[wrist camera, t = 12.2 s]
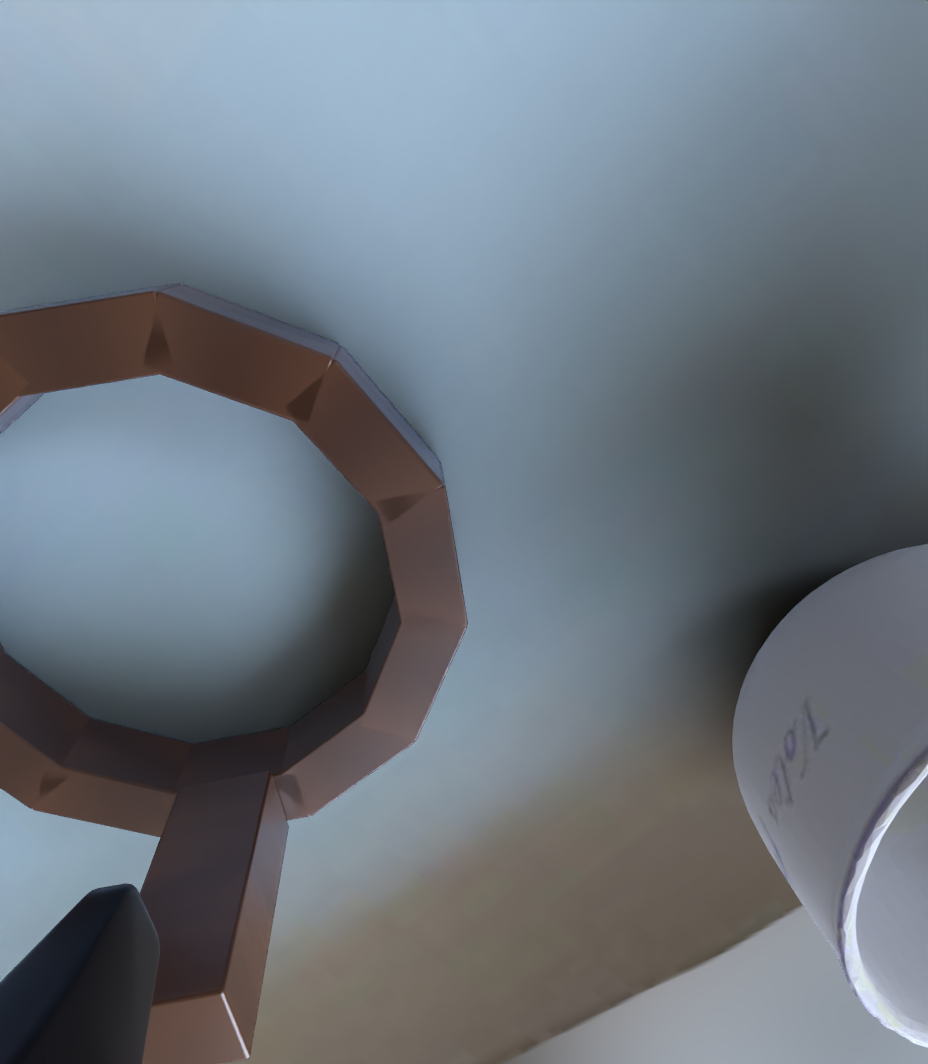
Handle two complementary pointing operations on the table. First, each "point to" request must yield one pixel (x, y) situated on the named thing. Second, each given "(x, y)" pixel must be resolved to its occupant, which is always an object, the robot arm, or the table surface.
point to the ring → (252, 759)
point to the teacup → (850, 773)
